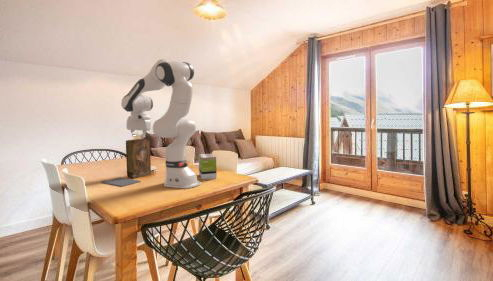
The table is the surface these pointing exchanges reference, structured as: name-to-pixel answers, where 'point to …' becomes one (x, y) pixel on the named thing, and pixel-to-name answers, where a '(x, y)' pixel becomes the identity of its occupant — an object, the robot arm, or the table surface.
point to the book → (138, 158)
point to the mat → (120, 181)
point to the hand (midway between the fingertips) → (138, 136)
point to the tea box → (207, 166)
